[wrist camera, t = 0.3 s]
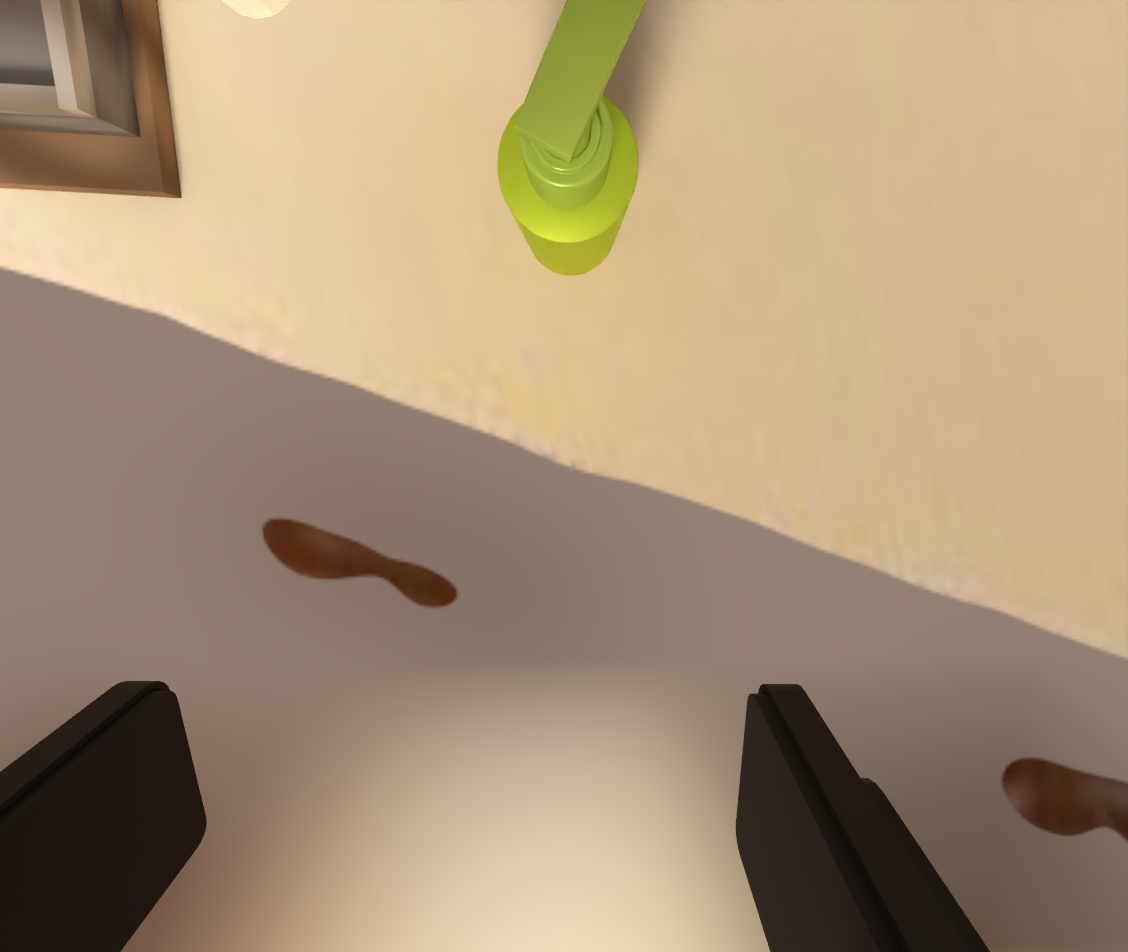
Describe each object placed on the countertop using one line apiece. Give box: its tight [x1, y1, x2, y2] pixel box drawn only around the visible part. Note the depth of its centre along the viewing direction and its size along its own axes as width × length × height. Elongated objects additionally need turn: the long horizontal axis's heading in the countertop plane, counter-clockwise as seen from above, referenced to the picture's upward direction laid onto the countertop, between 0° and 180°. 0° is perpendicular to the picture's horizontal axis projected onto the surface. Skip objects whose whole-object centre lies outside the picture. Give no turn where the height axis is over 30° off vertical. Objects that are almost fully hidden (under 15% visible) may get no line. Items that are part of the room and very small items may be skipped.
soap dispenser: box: [498, 0, 647, 276], centre depth 25 cm, size 6×7×20 cm
